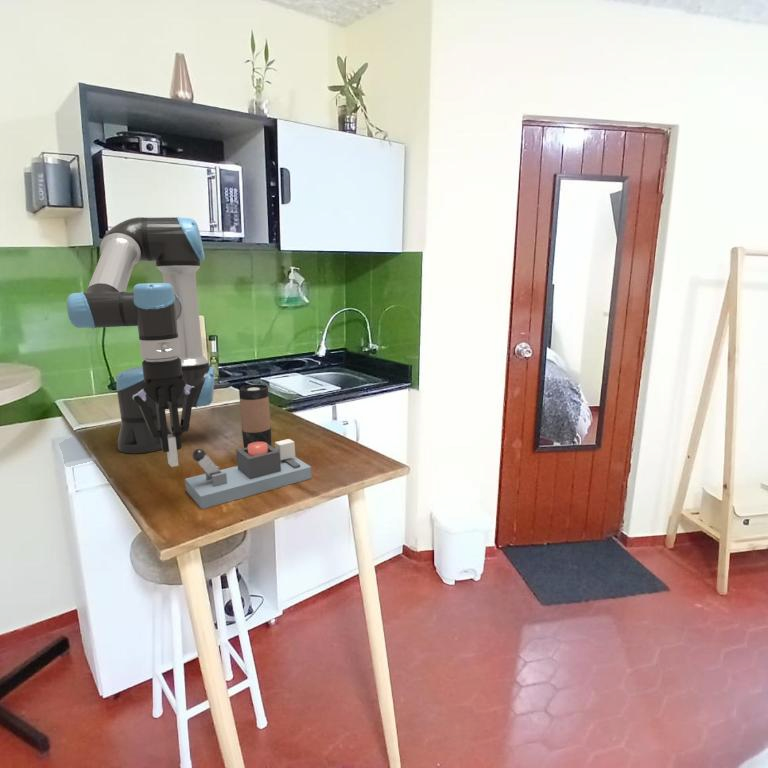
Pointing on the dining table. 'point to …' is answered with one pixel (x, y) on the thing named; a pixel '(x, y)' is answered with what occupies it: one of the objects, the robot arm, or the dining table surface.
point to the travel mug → (255, 414)
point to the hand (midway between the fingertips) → (173, 464)
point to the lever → (205, 462)
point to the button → (257, 448)
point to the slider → (285, 448)
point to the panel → (247, 478)
